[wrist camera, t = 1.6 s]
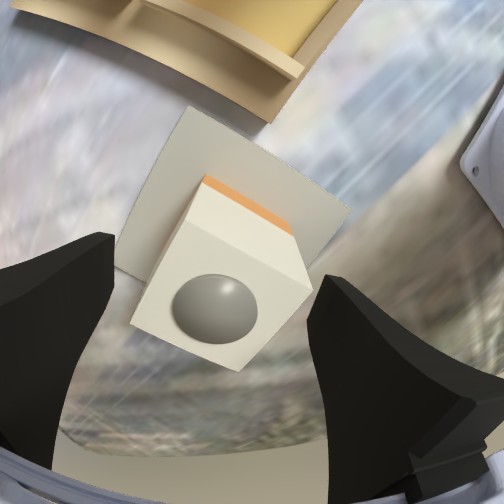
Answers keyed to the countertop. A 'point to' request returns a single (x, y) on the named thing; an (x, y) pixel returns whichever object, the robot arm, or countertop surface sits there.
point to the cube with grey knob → (223, 278)
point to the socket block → (217, 39)
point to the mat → (231, 174)
